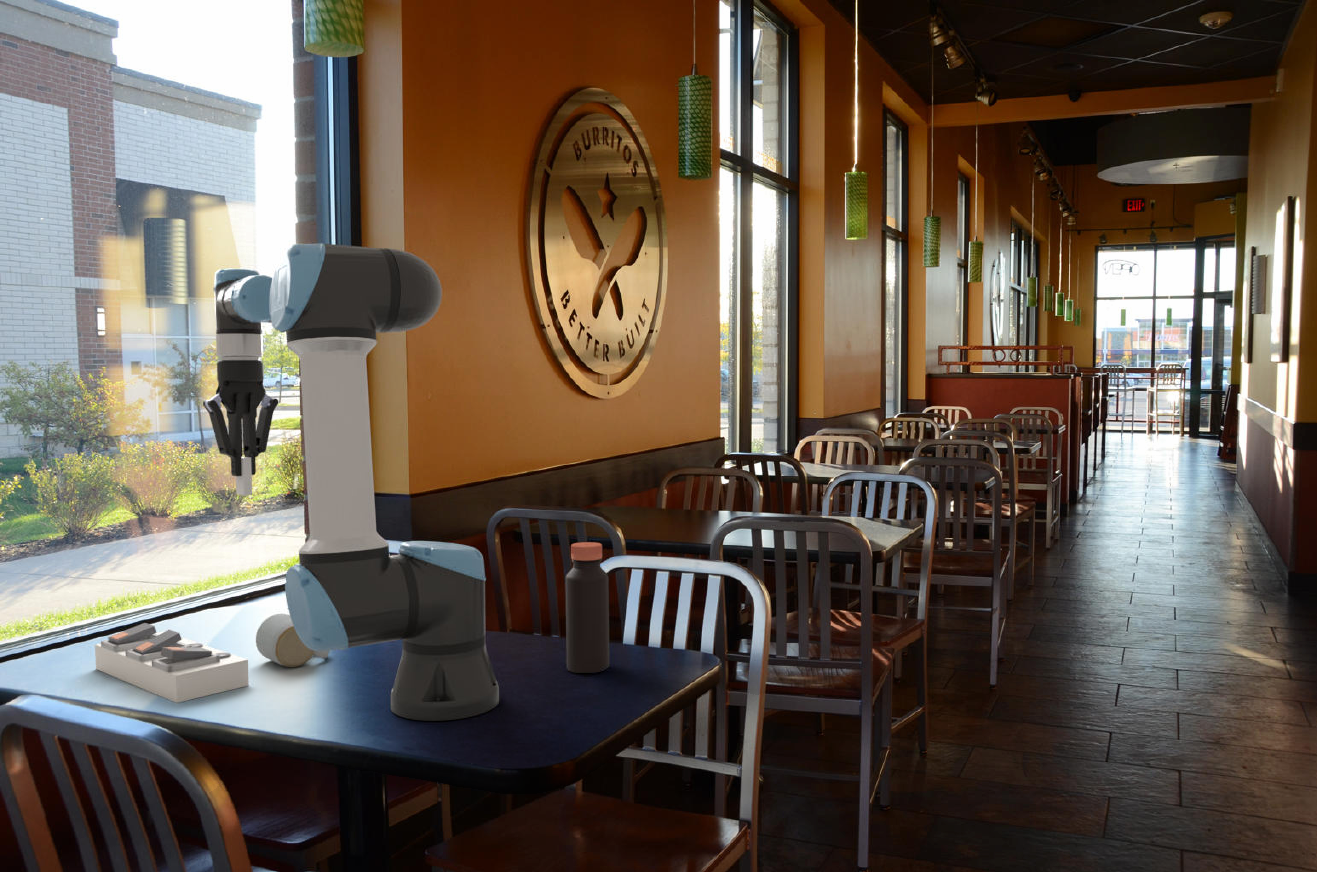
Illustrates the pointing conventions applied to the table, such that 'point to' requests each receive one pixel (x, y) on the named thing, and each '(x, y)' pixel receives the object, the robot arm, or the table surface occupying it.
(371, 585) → the robot arm
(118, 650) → the white rocker switch box
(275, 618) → the ceramic mug
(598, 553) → the bottle
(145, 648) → the rocker middle
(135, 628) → the rocker
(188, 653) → the rocker
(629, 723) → the table surface
